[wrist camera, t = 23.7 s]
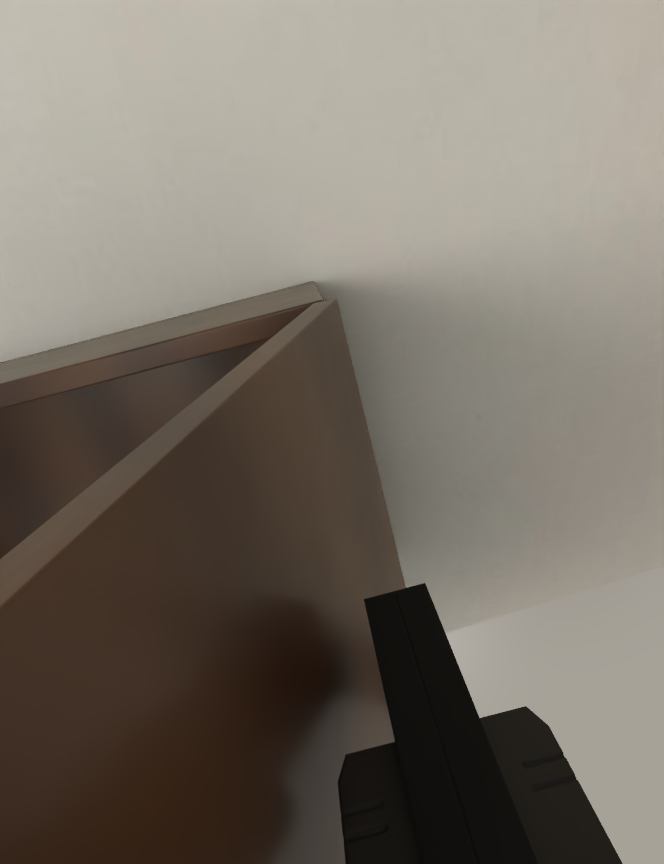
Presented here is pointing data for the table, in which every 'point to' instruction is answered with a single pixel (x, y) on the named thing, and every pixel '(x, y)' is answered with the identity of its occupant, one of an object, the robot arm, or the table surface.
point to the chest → (115, 398)
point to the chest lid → (203, 629)
